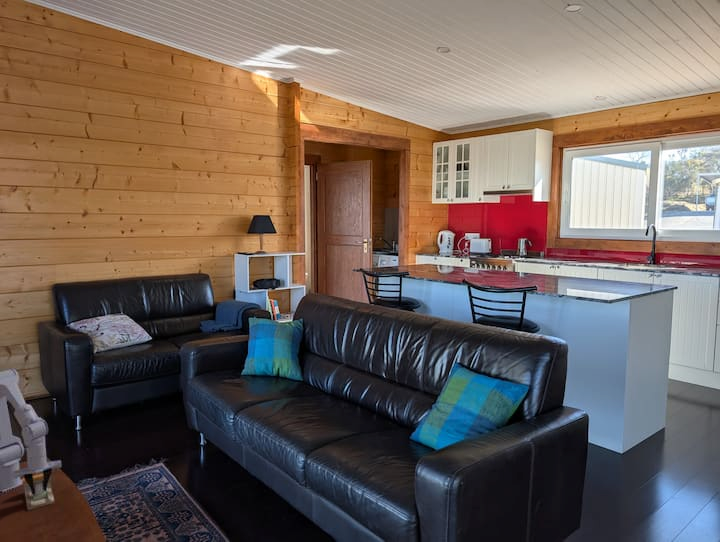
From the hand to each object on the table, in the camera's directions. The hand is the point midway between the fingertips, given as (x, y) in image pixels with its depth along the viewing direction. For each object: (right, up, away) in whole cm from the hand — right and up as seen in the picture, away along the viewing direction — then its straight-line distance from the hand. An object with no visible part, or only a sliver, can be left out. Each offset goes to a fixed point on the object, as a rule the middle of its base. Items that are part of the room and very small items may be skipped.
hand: (39, 491), depth 186 cm
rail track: (-1, -3, +2) cm, 4 cm away
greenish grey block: (0, -2, 0) cm, 2 cm away
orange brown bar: (-4, +2, +5) cm, 7 cm away
